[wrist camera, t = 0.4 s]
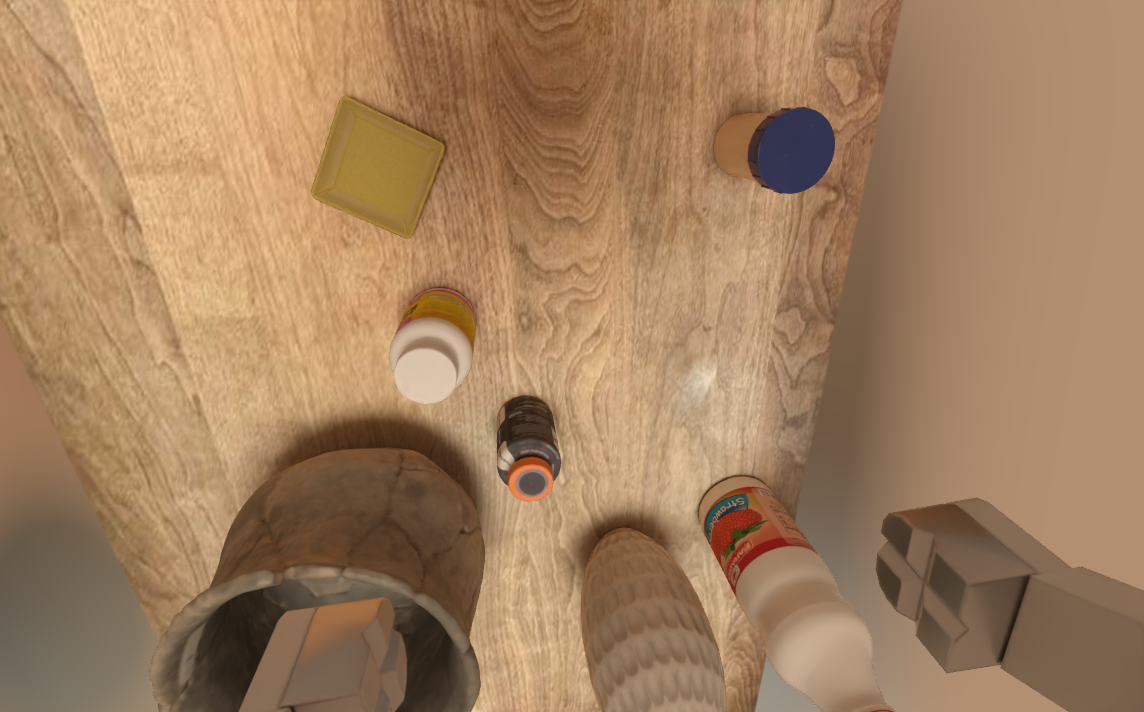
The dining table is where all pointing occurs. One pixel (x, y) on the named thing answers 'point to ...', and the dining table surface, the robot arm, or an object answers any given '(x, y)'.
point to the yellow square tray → (376, 168)
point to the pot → (337, 578)
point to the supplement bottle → (433, 345)
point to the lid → (791, 150)
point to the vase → (647, 631)
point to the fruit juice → (791, 598)
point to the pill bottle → (527, 448)
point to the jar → (736, 143)
